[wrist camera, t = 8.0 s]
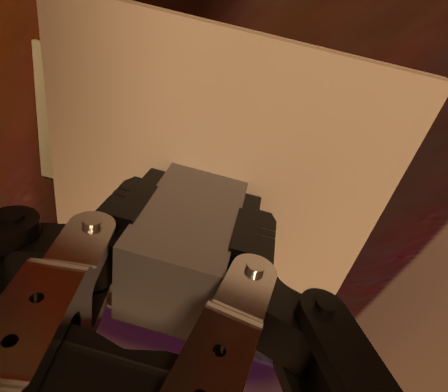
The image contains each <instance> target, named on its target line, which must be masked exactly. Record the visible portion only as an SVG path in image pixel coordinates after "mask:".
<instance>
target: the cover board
mask: <svg viewBox="0 0 448 392" xmlns="http://www.w3.org/2000/svg"><path fill="white" fill-rule="evenodd" d="M36 2H37V12H38V23H39V33H40V44H41V54H42V65H43V75H44V86H45V96H46V107H47V117H48V128H49V138H50V149H51V159H52V170H53V180H54V191H55V201H56V212H57V222H58V224H67V222H68V221H69V219H70V218H71V217H73V216H74V215H76V214H78V213H81V212H86V211H95V210H96V209H97V208H98V207H99V206H100V205H101V204H102V203H103V202H104V201H105V200H106V199H107V198H108V197H109V196H110V195H112V193H113V192H114V191H115V190H116V189H117V188H118V187H119V186H120V184H121V183H122V182H123V181H125V180H127V179H130V178H132V177H134V176H136V177H140V178H143V176H144V175H145V174H146V173H147V172H148V171H149V170H150V169H151V168H155V169H158V170H162V171H166V172H165V173H164V175H163V176H162V178H161V179H160V181H159V182H158V183H157V185H156V186H158V188H157V189H156V191H155V192H154V194H153V195H152V197H151V198H150V200H149V201H148V203H147V204H146V206H145V207H144V208H143V210H142V211H141V213H140V214H139V216H138V217H137V219H136V220H135V222H134V223H133V225H132V224H129V225H128V226H127V228H126V229H125V231H124V232H123V233H122V235H121V236H120V238H119V239H118V241H117V242H116V243H115V245H114V246H113V269H112V317H111V318H112V319H115V320H118V321H122V322H125V323H129V324H132V325H135V326H139V327H142V328H146V329H149V330H152V331H156V332H159V333H163V334H166V335H170V336H173V337H177V338H180V339H184V340H187V339H188V337H189V335H190V333H191V331H192V329H193V328H194V326H195V324H196V322H197V320H198V318H199V316H200V315H201V313H202V311H203V309H204V307H205V305H206V304H207V302H208V301H209V300H211V301H212V300H213V298H214V296H215V294H216V292H217V290H218V289H219V287H220V285H221V283H222V281H223V279H224V277H225V275H226V271H227V267H228V263H229V259H230V255H231V252H229V251H228V249H229V245H230V242H231V238H232V234H233V230H234V226H235V222H236V218H237V215H238V211H239V208H242V206H243V202H244V198H245V194H246V193H248V194H252V195H255V196H259V197H261V204H260V210H262V211H266V212H269V213H272V215H273V216H274V218H275V220H276V237H275V252H274V267H275V268H276V271H277V276H278V278H279V279H280V280H281V281H282V282H283V283H284V284H285V285H287V286H288V287H290V288H292V289H294V290H295V291H297V292H299V293H301V294H302V293H303V292H304V291H305V290H307V289H310V288H319V289H323V290H326V291H329V292H331V293H333V294H334V295H336V293H337V291H338V290H339V288H340V286H341V284H342V283H343V281H344V279H345V277H346V275H347V274H348V272H349V270H350V268H351V267H352V265H353V263H354V261H355V260H356V258H357V256H358V254H359V252H360V251H361V249H362V247H363V245H364V244H365V242H366V240H367V238H368V237H369V235H370V233H371V231H372V230H373V228H374V226H375V224H376V222H377V221H378V219H379V217H380V215H381V214H382V212H383V210H384V208H385V207H386V205H387V203H388V201H389V199H390V198H391V196H392V194H393V192H394V191H395V189H396V187H397V185H398V184H399V182H400V180H401V178H402V177H403V175H404V173H405V171H406V169H407V168H408V166H409V164H410V162H411V161H412V159H413V157H414V155H415V154H416V152H417V150H418V148H419V146H420V145H421V143H422V141H423V139H424V138H425V136H426V134H427V132H428V131H429V129H430V127H431V125H432V123H433V122H434V120H435V118H436V116H437V115H438V113H439V111H440V109H441V108H442V106H443V104H444V102H445V101H446V99H447V97H448V78H446V77H443V76H439V75H435V74H431V73H427V72H423V71H419V70H414V69H410V68H406V67H402V66H398V65H394V64H390V63H386V62H382V61H378V60H374V59H370V58H366V57H361V56H357V55H353V54H349V53H345V52H341V51H337V50H333V49H329V48H325V47H321V46H317V45H312V44H308V43H304V42H300V41H296V40H292V39H288V38H284V37H280V36H276V35H272V34H268V33H263V32H259V31H255V30H251V29H247V28H243V27H239V26H235V25H231V24H227V23H223V22H219V21H214V20H210V19H206V18H202V17H198V16H194V15H190V14H186V13H182V12H178V11H174V10H170V9H166V8H161V7H157V6H153V5H149V4H145V3H141V2H137V1H133V0H36Z"/></svg>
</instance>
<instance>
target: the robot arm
mask: <svg viewBox="0 0 448 392" xmlns="http://www.w3.org/2000/svg"><path fill="white" fill-rule="evenodd" d="M165 172H166V171H162V170H158V169H155V168H151V169H150V170H149V171H148V172H147V173H146V174H145V175H144V176H143V178H140V177H136V176H134V177H132V178H130V179H127V180H125V181H123V182H122V183H121V184H120V186H119V187H118V188H117V189H116V190H115V191H114V192H113V193H112V195H110V196H109V197H108V198H107V199H106V200H105V201H104V202H103V203H102V204H101V205H100V206H99V207H98V208H97V209H96V210H95V211H86V212H81V213H78V214H76V215H74V216H73V217H71V218H70V219H69V221H68V222H67V224H57V223H40V215H39V213H38V212H37V211H36V210H35V209H33V208H30V207H27V206H18V205H17V206H7V207H2V208H0V392H243V390H244V387H245V383H246V380H247V377H248V374H249V370H250V367H251V364H252V361H253V357H254V354H255V351H256V350H257V351H259V352H261V353H262V354H264V355H265V356H267V357H268V358H270V359H272V360H273V366H274V369H275V372H276V375H277V377H278V380H279V382H280V385H281V387H282V390H283V392H403V391H402V389H401V388H400V386H399V385H398V383H397V382H396V380H395V379H394V377H393V376H392V374H391V373H390V371H389V370H388V368H387V367H386V365H385V364H384V362H383V361H382V359H381V358H380V357H379V355H378V353H377V352H376V350H375V349H374V347H373V346H372V344H371V343H370V341H369V340H368V338H367V337H366V335H365V334H364V333H363V331H362V330H361V328H360V326H359V325H358V323H357V322H356V320H355V319H354V317H353V316H352V314H351V313H350V311H349V310H348V308H347V307H346V305H345V304H344V303H343V302H342V301H341V300H340V299H339V298H338V297H337V296H336V295H334V294H333V293H331V292H329V291H326V290H323V289H319V288H310V289H307V290H305V291H304V292H303V293H302V294H301V293H299V292H297V291H295V290H294V289H292V288H290V287H288V286H287V285H285V284H284V283H283V282H282V281H281V280H280V279H279V278H278V276H277V271H276V268H275V267H274V252H275V237H276V220H275V218H274V216H273V215H272V213H269V212H266V211H262V210H260V204H261V197H259V196H255V195H252V194H248V193H246V194H245V198H244V202H243V206H242V208H239V211H238V215H237V218H236V222H235V226H234V230H233V234H232V238H231V242H230V245H229V249H228V251H229V252H231V255H230V259H229V263H228V267H227V271H226V275H225V277H224V279H223V281H222V283H221V285H220V287H219V289H218V290H217V292H216V294H215V296H214V298H213V300H212V301H211V300H209V301H208V302H207V304H206V305H205V307H204V309H203V311H202V313H201V315H200V316H199V318H198V320H197V322H196V324H195V326H194V328H193V329H192V331H191V333H190V335H189V337H188V339H187V341H186V343H185V344H184V346H183V348H182V350H181V352H180V354H179V355H178V354H175V353H171V352H167V351H149V350H128V349H123V348H121V347H119V346H118V345H116V344H114V343H113V342H111V341H109V340H108V339H106V338H104V337H103V336H101V335H100V334H98V333H96V331H97V328H98V325H99V323H100V320H101V318H102V315H103V312H104V310H105V307H106V305H107V302H108V300H109V297H110V294H111V292H112V269H113V246H114V245H115V243H116V242H117V241H118V239H119V238H120V236H121V235H122V233H123V232H124V231H125V229H126V228H127V226H128V225H129V224H132V225H133V223H134V222H135V220H136V219H137V217H138V216H139V214H140V213H141V211H142V210H143V208H144V207H145V206H146V204H147V203H148V201H149V200H150V198H151V197H152V195H153V194H154V192H155V191H156V189H157V188H158V186H156V185H157V183H158V182H159V181H160V179H161V178H162V176H163V175H164V173H165Z"/></svg>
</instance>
